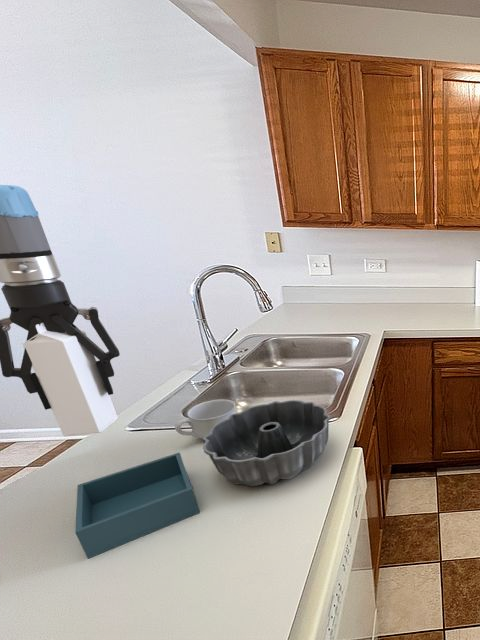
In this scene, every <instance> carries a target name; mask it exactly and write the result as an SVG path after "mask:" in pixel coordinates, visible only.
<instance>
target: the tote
mask: <svg viewBox="0 0 480 640" xmlns="http://www.w3.org/2000/svg"><path fill="white" fill-rule="evenodd" d="M76 490H77V491H76V492H77V493H76V512H75V513H76V514H75V532H74V533H75V535H76V537H77V539H78V541H79V543H80V545H81V547H82V550H83V552H84V554H85V556H86V558H87V559H91V558H94V557H96V556H98V555H101V554H103V553H105V552H108V551H110V550H113V549H115V548H118V547H120V546H124V545H125V544H127V543H129V542H132V541H135V540H137V539H139V538H143V537H145V536H147V535H149V534H152V533H154V532H156V531H160V530H161V529H164V528H166V527H169V526H171V525H173V524H176V523H179V522H180V521H184V520H186V519H188V518H190V517H192V516H195V515H196V516H197V514H200V513H201V512H200V511H201V510H200V508H199V505H198V502H197V499H196V496H195V493H194V489H193V486H192V484H191V481H190V478H189V475H188V473H187V470H186V467H185V464H184V461H183V458H182V455H181V453H180V452H176V453H172V454H170V455H166V456H163V457H161V458H158V459H153V460H151V461H147V462H145V463H141V464H139V465H136V466H132V467H129V468H126V469H123V470H120V471H116V472H113V473H111V474H107V475H104V476H101V477H97V478H95V479H92V480H89V481H86V482H83V483H80V484H77V489H76Z"/></svg>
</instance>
